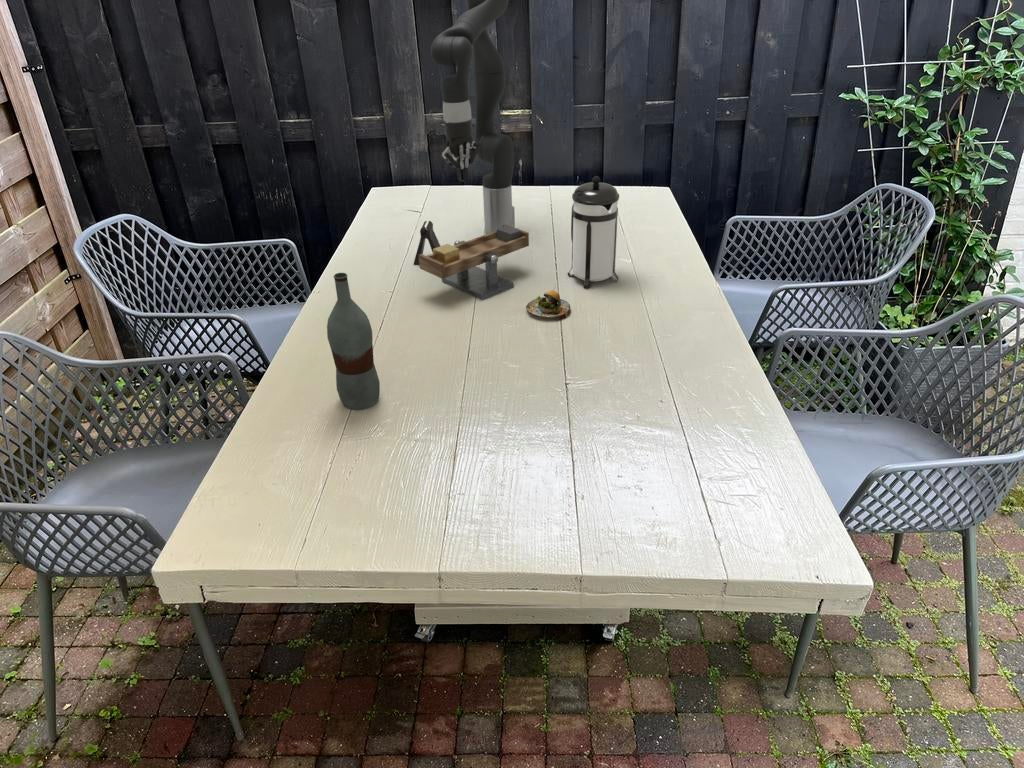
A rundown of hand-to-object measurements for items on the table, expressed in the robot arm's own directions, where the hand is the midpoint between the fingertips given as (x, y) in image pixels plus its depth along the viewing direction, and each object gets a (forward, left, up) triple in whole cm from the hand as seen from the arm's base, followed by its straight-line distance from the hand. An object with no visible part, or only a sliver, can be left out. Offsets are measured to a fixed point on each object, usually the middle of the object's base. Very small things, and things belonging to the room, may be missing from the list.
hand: (463, 180), depth 209 cm
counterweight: (-8, +10, -17) cm, 21 cm away
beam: (+5, +10, -19) cm, 22 cm away
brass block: (+15, +10, -17) cm, 25 cm away
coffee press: (-21, +30, -27) cm, 46 cm away
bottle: (+63, +38, -27) cm, 78 cm away
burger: (+3, +37, -28) cm, 46 cm away
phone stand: (+4, -14, -27) cm, 31 cm away
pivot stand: (+5, +10, -27) cm, 29 cm away
